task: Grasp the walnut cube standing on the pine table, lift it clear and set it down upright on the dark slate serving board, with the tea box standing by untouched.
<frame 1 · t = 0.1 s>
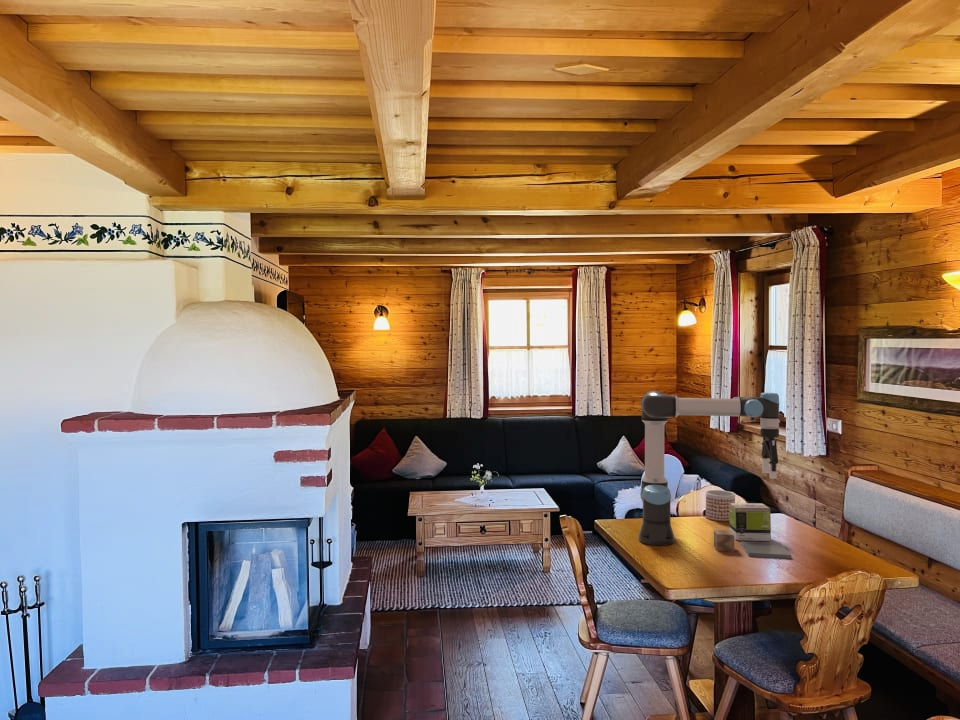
hand: (769, 475, 287), 28 cm above the table, fingers open, 13 cm apart
slate board: (765, 551, 269), on the table
walnut cube: (723, 548, 273), on the table
planter: (720, 518, 324), on the table
tea box: (749, 538, 289), on the table
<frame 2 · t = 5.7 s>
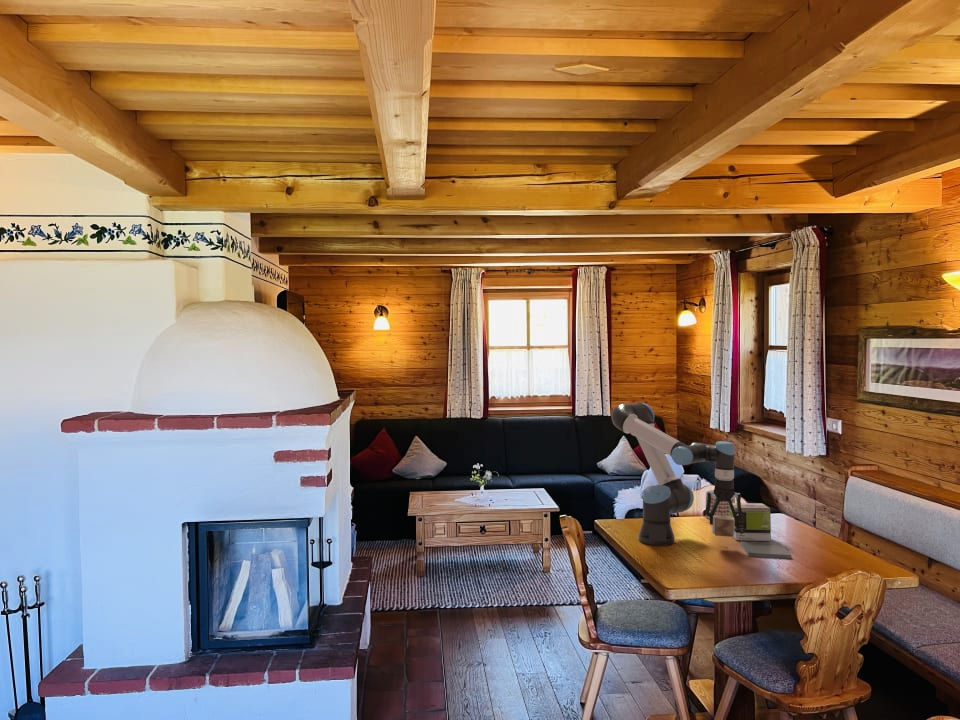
hand: (722, 532, 273), 6 cm above the table, fingers closed on walnut cube, 7 cm apart
walnut cube: (722, 533, 273), point 6 cm above the table, touching gripper
everything else where it was.
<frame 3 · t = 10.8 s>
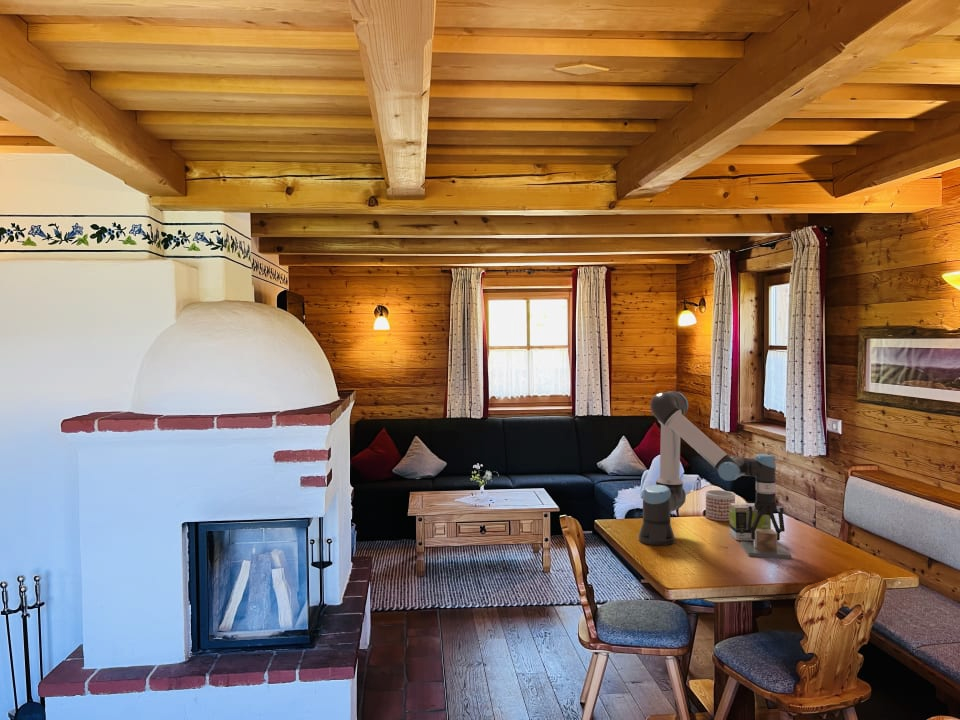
hand: (765, 547, 269), 2 cm above the table, fingers closed on walnut cube, 7 cm apart
walnut cube: (765, 548, 269), point 1 cm above the table, touching gripper, slate board
everything else where it was.
when the fingers open (2 cm above the table, at t = 11.0 s): walnut cube stays where it is, resting on slate board.
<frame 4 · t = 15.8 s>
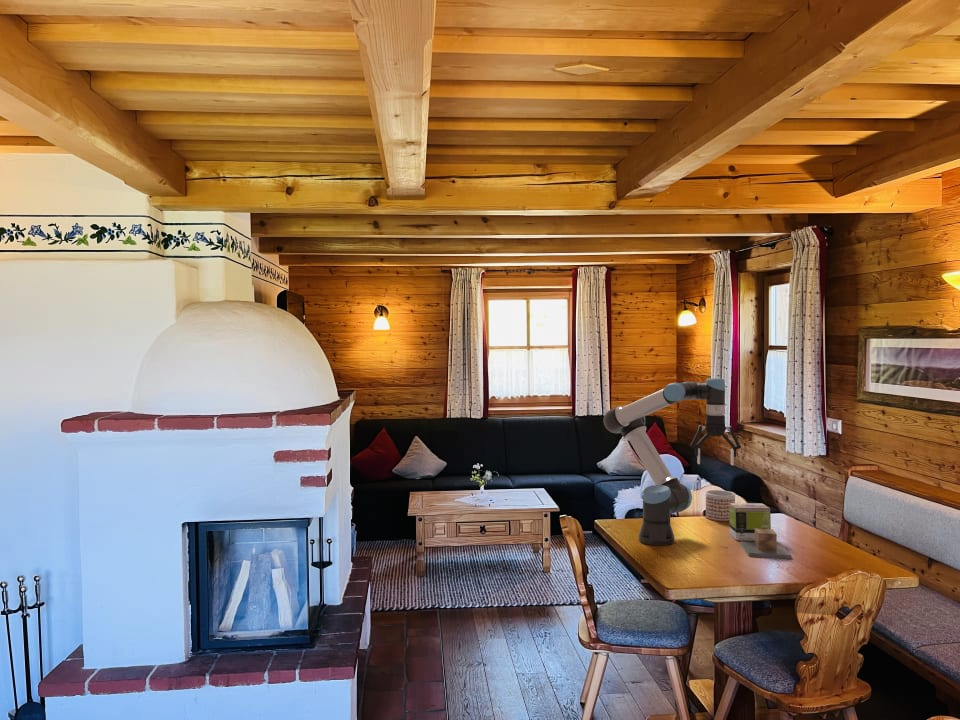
hand: (715, 464, 277), 35 cm above the table, fingers open, 13 cm apart
walnut cube: (765, 548, 269), point 1 cm above the table, touching slate board
everything else where it was.
at the end: walnut cube inside the target area on the slate board (0.1 cm from its centre), point 1.5 cm above the slate board's base; walnut cube tilted 0°; the gripper is holding nothing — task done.
